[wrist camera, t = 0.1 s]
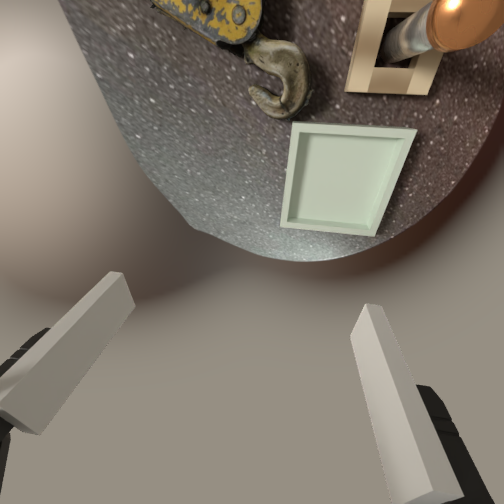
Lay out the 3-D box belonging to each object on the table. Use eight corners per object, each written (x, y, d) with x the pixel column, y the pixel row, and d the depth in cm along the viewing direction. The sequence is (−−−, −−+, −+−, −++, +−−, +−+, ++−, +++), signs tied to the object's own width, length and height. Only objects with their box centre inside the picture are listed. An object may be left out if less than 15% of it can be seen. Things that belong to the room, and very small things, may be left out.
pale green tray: (292, 120, 31) (292, 122, 29) (406, 127, 30) (417, 129, 27) (280, 218, 40) (280, 226, 37) (369, 227, 38) (374, 236, 36)
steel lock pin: (382, 17, 25) (460, -53, 13) (425, 18, 24) (544, -54, 13) (368, 69, 27) (425, 47, 16) (407, 70, 27) (494, 49, 15)
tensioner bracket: (367, -14, 24) (372, -23, 22) (460, -14, 23) (473, -23, 21) (344, 91, 29) (347, 91, 27) (419, 95, 28) (427, 94, 26)
